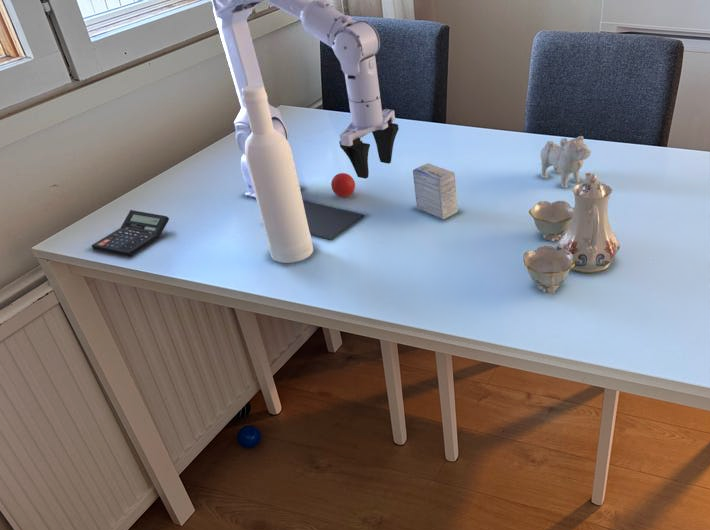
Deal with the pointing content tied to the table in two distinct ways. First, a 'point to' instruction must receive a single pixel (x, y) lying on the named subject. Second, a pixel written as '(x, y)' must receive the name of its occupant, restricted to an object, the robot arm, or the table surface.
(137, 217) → the calculator
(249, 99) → the bottle
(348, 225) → the mat
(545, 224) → the chinaware
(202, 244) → the table surface
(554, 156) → the dog figurine
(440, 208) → the grey streaked block
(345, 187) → the ball
